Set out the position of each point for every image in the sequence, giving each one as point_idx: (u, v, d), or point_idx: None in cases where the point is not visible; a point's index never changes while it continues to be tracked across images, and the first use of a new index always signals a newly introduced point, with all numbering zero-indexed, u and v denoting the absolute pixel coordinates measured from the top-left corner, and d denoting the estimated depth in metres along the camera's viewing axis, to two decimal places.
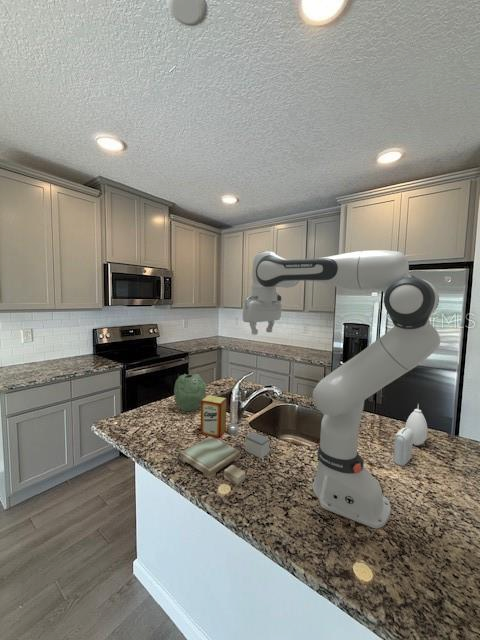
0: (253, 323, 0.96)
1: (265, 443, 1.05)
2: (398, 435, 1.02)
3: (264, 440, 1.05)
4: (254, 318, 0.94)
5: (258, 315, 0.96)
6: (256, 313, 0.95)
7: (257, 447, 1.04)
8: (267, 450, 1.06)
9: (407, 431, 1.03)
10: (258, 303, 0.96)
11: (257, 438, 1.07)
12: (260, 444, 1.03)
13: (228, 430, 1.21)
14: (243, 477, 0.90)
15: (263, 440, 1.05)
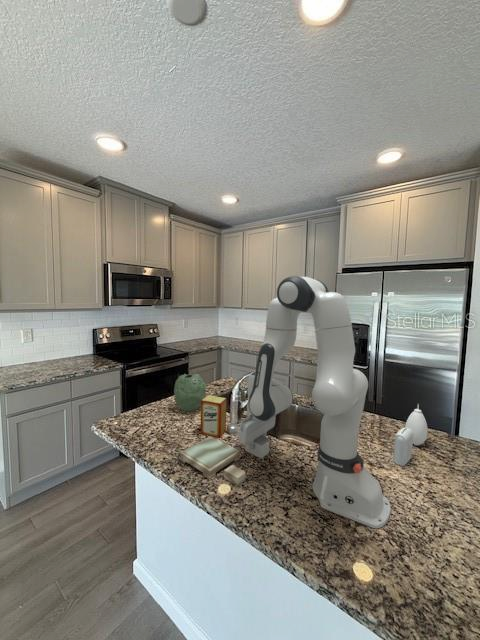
0: None
1: (265, 443, 1.05)
2: (398, 435, 1.02)
3: (264, 440, 1.05)
4: (248, 439, 1.00)
5: (252, 434, 1.02)
6: (250, 433, 1.01)
7: (257, 447, 1.04)
8: (267, 450, 1.06)
9: (407, 431, 1.03)
10: (253, 424, 1.01)
11: (257, 438, 1.07)
12: (260, 444, 1.03)
13: (228, 430, 1.21)
14: (243, 477, 0.90)
15: (263, 440, 1.05)
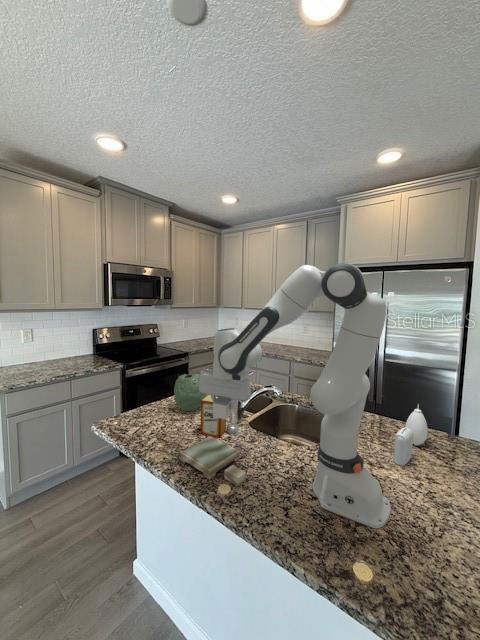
0: None
1: (219, 404, 0.98)
2: (398, 435, 1.02)
3: (220, 401, 0.98)
4: (203, 389, 1.02)
5: (209, 388, 1.01)
6: (206, 385, 1.02)
7: None
8: (223, 414, 0.98)
9: (407, 431, 1.03)
10: (209, 377, 1.01)
11: (222, 398, 1.01)
12: None
13: (228, 430, 1.21)
14: (243, 477, 0.90)
15: (220, 401, 0.99)
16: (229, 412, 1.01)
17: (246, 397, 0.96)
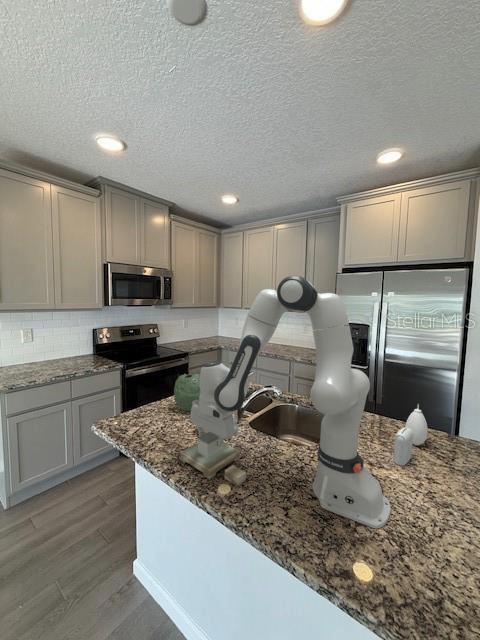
0: None
1: (202, 442, 0.98)
2: (398, 435, 1.02)
3: (204, 439, 0.98)
4: (193, 420, 1.04)
5: (197, 420, 1.03)
6: (195, 416, 1.04)
7: None
8: (205, 453, 0.97)
9: (407, 431, 1.03)
10: (197, 409, 1.02)
11: (209, 435, 1.01)
12: None
13: None
14: (244, 477, 0.90)
15: (204, 438, 0.99)
16: (215, 450, 1.00)
17: (226, 436, 0.93)
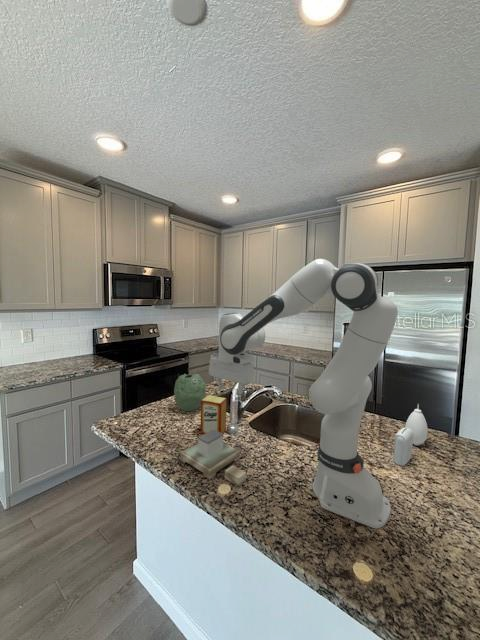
0: None
1: (202, 442, 0.98)
2: (398, 435, 1.02)
3: (204, 439, 0.98)
4: (212, 372, 1.07)
5: (216, 371, 1.05)
6: (214, 368, 1.06)
7: None
8: (205, 453, 0.97)
9: (407, 431, 1.03)
10: (216, 360, 1.05)
11: (209, 435, 1.01)
12: None
13: (228, 430, 1.21)
14: (244, 477, 0.90)
15: (204, 438, 0.99)
16: (215, 450, 1.00)
17: (246, 381, 0.96)
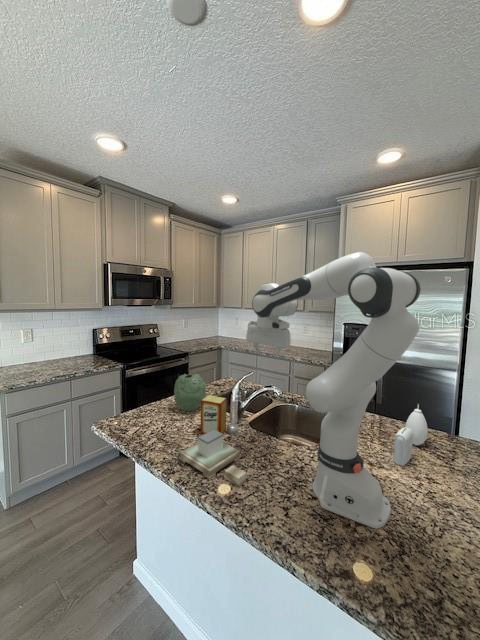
0: None
1: (202, 442, 0.98)
2: (398, 435, 1.02)
3: (204, 439, 0.98)
4: (249, 338, 1.16)
5: (254, 337, 1.15)
6: (252, 335, 1.16)
7: None
8: (205, 453, 0.97)
9: (407, 431, 1.03)
10: (254, 327, 1.14)
11: (209, 435, 1.01)
12: None
13: (228, 430, 1.21)
14: (244, 477, 0.90)
15: (204, 438, 0.99)
16: (215, 450, 1.00)
17: (284, 344, 1.05)
